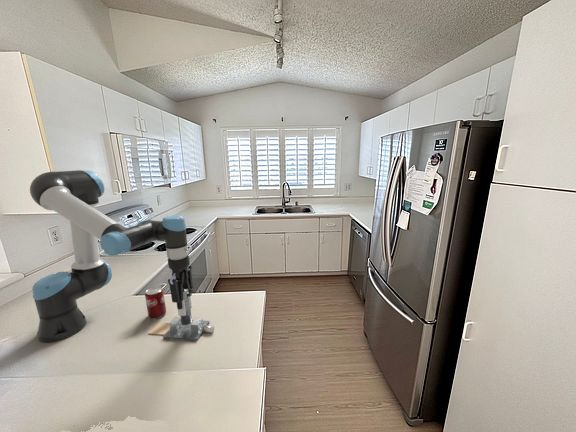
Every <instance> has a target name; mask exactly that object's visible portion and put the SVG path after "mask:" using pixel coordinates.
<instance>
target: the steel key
mask: <svg viewBox="0 0 576 432" xmlns="http://www.w3.org/2000/svg"><path fill="white" fill-rule="evenodd" d="M192 293H193V292H188V288H183V300H184V302H185V310H186V315H185V316H179V317H181V324H182V325H188V324H190V323H191V322H192V320H193V319H192V310H191V309H192V308H190V300H189V296H190V297H192V295H193V294H192Z"/></svg>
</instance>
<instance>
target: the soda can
mask: <svg viewBox="0 0 576 432" xmlns="http://www.w3.org/2000/svg"><path fill="white" fill-rule="evenodd" d="M144 298H145V303H146V304H145V305H146V310H147V311H146V312H147V317H148V318H149V319H151V320H156V319H161V318H162V317H163V316H165V315H166V313H167V306H166V300H165V292H164V289H163V287H161V286H154V287H150V288H149V289H146V291H145V292H144Z"/></svg>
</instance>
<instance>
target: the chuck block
mask: <svg viewBox="0 0 576 432" xmlns="http://www.w3.org/2000/svg"><path fill="white" fill-rule="evenodd" d="M168 323H169V327H170V329H169V330H168V331H167V332H166V334H165V335H162V339H163V340H176V341H194V342H198V341H199V339H200V338H201V336H203V334H204V333H211V334H213V333H214V331H215V326H214V325H209V324H210V320H204V319H203V317H195V318H194V319H192V322H191V323H190V324H188V325H182V324H181V317H180V316H174V317H173V319H171V321H169V322H168Z"/></svg>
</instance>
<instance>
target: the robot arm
mask: <svg viewBox="0 0 576 432" xmlns="http://www.w3.org/2000/svg"><path fill="white" fill-rule="evenodd" d="M29 193H30V196H31V199H32V200H33V201H34V202H35V203H36V204H37V205H39V206H40V207H41V208H43V209H45V210H47V211H54V212H55V213H57V214H58V215H60V216H62V217H63V218H65V219H67V221H69V224H70V225H69V226H70V231H71V239H72V247H73V248H72V249H73V254H74V261H73V263H72V264H71V265H70V267H71V271H70V272H69V271H58V272H55V273H50V274H48V275H46V276H44V277H42V278H40V279H39V280H37V281H36V282H35V283H34V284H33V285H32V290H31V291H32V298H33V300H34V303H35V306H36V310H37V314H38V318H39V322H38V323H39V324H38V330H37V334H36V336H37V340H38V341H39V342H41V343H52V342H53V343H54V342H57V341H60V340H63V339H64V340H65V339H67V338H69V337H71V336H74V335H76V334H78V333H79V331H81V330H82V329H84V328H85V327H86V325H87V318H86V316H85V314H84V313H83V312H82V311H81V310H80V308H79V307H78V303H77V302H78V301H77V300H78V299H80V298H83V297H85V296H86V295H89V294H91V293H92V292H94V291H97V290H99V289H102V288H103V287H105V286H107V285H108V284H109V283H110V282H111V280H112V278H113V277H112V276H113V273H112V272H113V271H112V268H111V267H110V264H109V263H108V262H107V261H105V260H104V259H103V258H101V257H100V248H101V249H102V250H103V251H104V252H103V253H105V254H106V255H108V256H110V257H111V256H113V257H114V256H118V255H121V254H126V253H127V252H129V251H132V250H134V249H136V248H139V247H142V246H145V245H147V244H149V243H152V242H156V241H157V242H164V243H165V249H166V250H165V252H166V258H167V264H168V265H167V267H168V268H169V269H170V270H171V278H168V279H167V283H168V285H169V289H170V296H171V301H172V303H176V308H177V313H178V315H177V316H178V317H180V316H185V315H186V310H185V302H184V300H183V288H188V292H192V293H193V291H194V290H192V289H193V288H194V286H193V277H192V276H193V275H192V267H193V266H192V265H190V264H191V261H190V256H189V254H190V252H189V246H188V238H187V226H186V222H185V218H184V216H182V215H169V216H165V217H163V218H162V219H161V220H153V219H147V220H146V219H145V220H140V221H138V222H137V223H136V225H132V226H129V227H125V226H124V225H122V224H121V223H119V222H117V221H116V220H114V219H112V218H110V217H109V216H107V215H106V214H105V213H103V212H101V211H99V210H97V209H96V206H97V205H98V204H99V200H100V199H99V198H100V197H102V196H103V195H104V193H105V184H104V182H103V180H102V178H101V177H100V176H99V175H98V174H97V173H96V172H94V171H92V170H85V169H84V170H81V169H80V170H79V169H77V170H65V171H64V170H63V171H62V170H61V171H60V170H59V171H47V172H43V173H41V174H39V175H37V176H36V177H35V178H34V179H33V180H32V181H31V183H30V186H29ZM99 241H100V242H99ZM99 244H100V245H99ZM99 247H100V248H99ZM191 297H192V296H189V300H190V308H191V309H193V307H192V299H191Z"/></svg>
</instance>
